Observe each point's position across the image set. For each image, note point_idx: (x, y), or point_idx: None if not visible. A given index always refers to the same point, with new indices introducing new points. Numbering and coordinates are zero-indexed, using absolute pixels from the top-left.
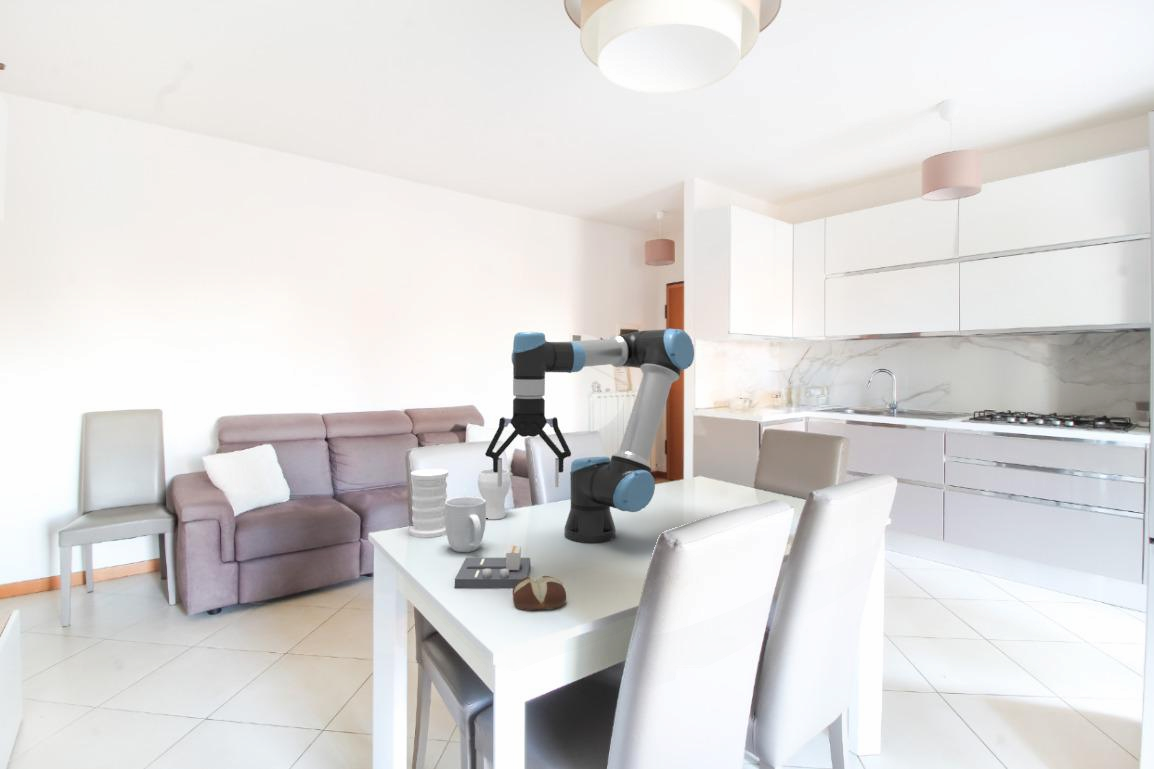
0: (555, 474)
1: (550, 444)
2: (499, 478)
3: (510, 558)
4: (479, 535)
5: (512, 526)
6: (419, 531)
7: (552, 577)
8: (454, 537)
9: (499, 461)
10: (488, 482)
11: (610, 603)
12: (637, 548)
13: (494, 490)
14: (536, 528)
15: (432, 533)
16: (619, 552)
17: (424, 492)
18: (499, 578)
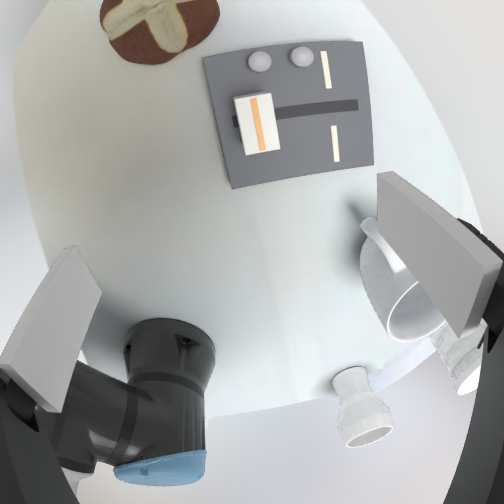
0: (47, 289)
1: (3, 484)
2: (410, 192)
3: (257, 94)
4: (369, 224)
5: (315, 355)
6: None
7: (126, 32)
8: None
9: (485, 254)
10: (375, 414)
11: (36, 56)
12: None
13: (361, 406)
14: (272, 358)
15: None
16: None
17: (481, 332)
18: (266, 50)
